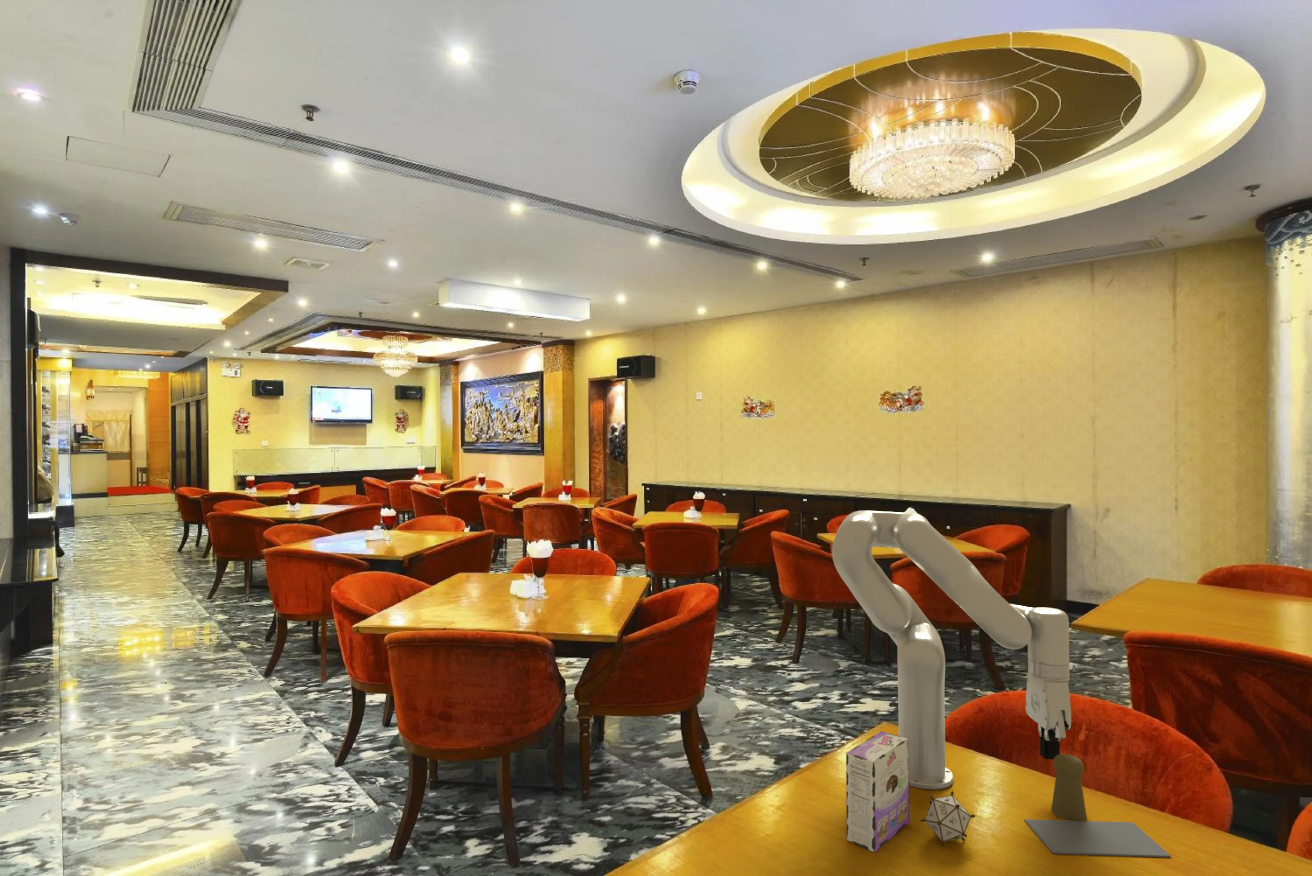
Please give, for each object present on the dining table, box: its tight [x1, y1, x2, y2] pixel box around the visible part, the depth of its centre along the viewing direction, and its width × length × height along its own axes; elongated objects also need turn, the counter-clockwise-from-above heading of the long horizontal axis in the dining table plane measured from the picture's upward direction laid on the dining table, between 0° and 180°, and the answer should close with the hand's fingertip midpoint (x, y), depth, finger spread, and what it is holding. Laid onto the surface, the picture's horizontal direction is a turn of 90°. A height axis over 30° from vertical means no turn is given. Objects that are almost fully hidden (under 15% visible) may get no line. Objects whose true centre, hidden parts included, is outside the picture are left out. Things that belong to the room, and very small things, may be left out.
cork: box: [1051, 753, 1088, 821], centre depth 139 cm, size 6×6×11 cm
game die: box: [919, 790, 976, 848], centre depth 130 cm, size 9×8×10 cm
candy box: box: [845, 730, 910, 853], centre depth 132 cm, size 14×6×16 cm, turn 135°
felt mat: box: [1024, 818, 1172, 858], centre depth 130 cm, size 20×11×1 cm, turn 86°
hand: (1049, 757), depth 146 cm, fingers closed
